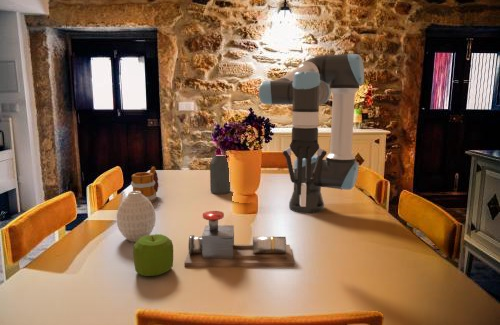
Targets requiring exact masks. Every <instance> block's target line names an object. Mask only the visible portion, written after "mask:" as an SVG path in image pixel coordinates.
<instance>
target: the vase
mask: <svg viewBox="0 0 500 325" xmlns="http://www.w3.org/2000/svg"><path fill="white" fill-rule="evenodd" d="M152 203H153V202H152ZM152 203H151V202H150V201H149V199H147V198H146V197H145V196H144V195H142V193H141V192H140V191H133V190H132V191H130V192H128V194H127V195H126V196H125V197H124V199H123V200H122V202H121V203H120V204H119V206H118V209H117V211H116V212H117V213H116V226H117V228H118V231H119V232H120V233H121V235H122V236H123V238H125V239H126V240H127V241H129V242H132V243H136V242H137V241H138V240H139V239H140V238H141V237H144V236H148V235H152V232H153V230H154V227H155V226H156V220H157V218H156V211H155V207H154V206H153V204H152Z"/></svg>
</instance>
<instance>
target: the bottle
mask: <svg viewBox="0 0 500 325" xmlns="http://www.w3.org/2000/svg"><path fill="white" fill-rule="evenodd" d="M209 174H210V175H209V179H210V181H209V182H210V187H209V188H210V192H211V193H212V194H214V195H226V194H229V193H230V192H231V181H230V182H229V168H228V162H227V159H226V158H225V156H216V152H215V153H214V155H213V157H212V159H211V160H210V162H209Z"/></svg>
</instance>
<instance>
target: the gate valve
mask: <svg viewBox="0 0 500 325" xmlns="http://www.w3.org/2000/svg"><path fill="white" fill-rule="evenodd" d="M224 217H225V214H224V212H223V211H220V210H209V211H205V212H204V213H202V219H204V220H206V221H208V225H205V226H204V228H203V231H202V235H201V236H195V235H194V234H191V235H189V239H188V252H189V255H193V254H194V253H202V255H203V259H223V260H233V249H234V245H235V226H234V224H233V225H232V224H231V225H230V224H229V225H228V224H227V225H225V224H224V225H219V220H222V219H223V218H224Z"/></svg>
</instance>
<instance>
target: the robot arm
mask: <svg viewBox="0 0 500 325" xmlns="http://www.w3.org/2000/svg"><path fill="white" fill-rule="evenodd" d="M364 83H365V68H364V61H363V58H362V56H361V55H360V54H358V53H345V54H344V53H339V54H322V55H318V56H314V57H312V58H308V59H306V60H304V61H303V62H301V63H299V64H298V65H297V66H296V68H295V69H294V70H292V71H290V72H288V73H287V74H285V75H283V76H281V77H279V78H278V79H276V80H265V81H261V83H260V85H259V88H258V98H259V101H260V102H261V103H262V104H263V105H271V106H273V105H276V106H277V105H279V106H280V105H281V106H282V105H283V106H284V105H291V106H292V109H291V110H292V116H291V118H292V119H291V120H292V121H291V125H292V128H291V142H290V144H289V147H287V148H286V149H283V150H281V151H282V154H283V156H284V158H285V161H286V164H287V170H288V174H289V178H290V181H291V183H293V192H292V194H291V198H290V200H289V204H288V208H289V210H291V211H293V212H294V213H295V212H296V213H300V214H318V213H321V212H323V211H324V210H325V203H324V200H323V199H324V198H323V195H322V192H321V190H322V189H321V188H328V189H334V190H335V189H337V190H341V191H342V190H347V191H350V190H352V189H353V188H354V187H355V184H356V183H357V179H358V175H359V168H360V167H359V166H360V164H359V162H358V161H356V157H355V156H354V154H353V136H354V135H353V134H354V119H355V118H354V117H355V115H354V114H355V99H356V97H355V96H356V94H357V92H358V91H360V86H362V85H364ZM331 94H332V102H331V103H332V106H331V126H330V146H329V147H330V148H329V149H330V150H329V153H327V151H326V150H324V149H322V148H321V147H320V144H319V128H318V127H317V126H319V118H320V116H319V114H320V110H319V109H320V106H322V105H324V104H326V103H327V102H328V101H329V100H330V97H331ZM292 153H293V154H294V156H295V158H296V159H295V160H294V165H293V162H292V158H291V155H292ZM316 153H317V154H316ZM324 158H325V159H324Z"/></svg>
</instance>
